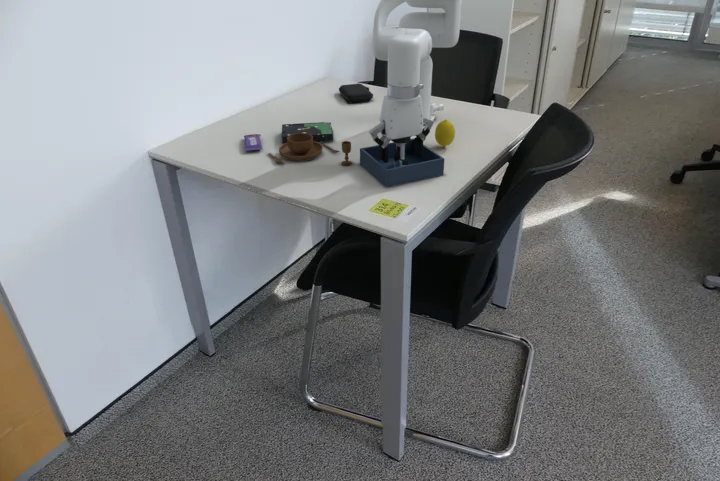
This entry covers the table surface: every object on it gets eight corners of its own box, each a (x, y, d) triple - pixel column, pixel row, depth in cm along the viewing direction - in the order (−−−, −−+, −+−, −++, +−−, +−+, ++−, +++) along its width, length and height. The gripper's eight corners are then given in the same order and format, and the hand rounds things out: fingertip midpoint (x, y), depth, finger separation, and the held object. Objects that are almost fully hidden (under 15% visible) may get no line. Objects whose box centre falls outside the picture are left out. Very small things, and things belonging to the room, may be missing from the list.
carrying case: (377, 101, 187) (365, 89, 199) (377, 93, 186) (365, 81, 198) (347, 104, 185) (337, 92, 197) (347, 95, 183) (337, 84, 195)
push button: (415, 172, 137) (417, 134, 132) (395, 175, 136) (396, 137, 131) (405, 162, 143) (407, 125, 137) (386, 164, 141) (387, 128, 136)
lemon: (442, 141, 155) (444, 114, 151) (457, 147, 152) (460, 119, 148) (430, 147, 152) (431, 119, 148) (445, 152, 149) (447, 124, 144)
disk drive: (282, 146, 154) (334, 142, 156) (281, 136, 153) (333, 132, 154) (282, 133, 163) (331, 129, 165) (281, 124, 162) (330, 120, 163)
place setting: (319, 140, 157) (318, 120, 154) (355, 163, 143) (355, 142, 140) (263, 153, 149) (261, 133, 146) (296, 180, 135) (294, 158, 132)
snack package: (262, 145, 149) (244, 147, 149) (263, 152, 150) (245, 154, 150) (260, 131, 159) (243, 132, 158) (261, 137, 160) (243, 138, 159)
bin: (413, 153, 148) (414, 138, 146) (443, 175, 136) (444, 158, 134) (360, 164, 143) (359, 148, 140) (386, 187, 131) (386, 170, 128)
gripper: (426, 82, 135) (423, 147, 144) (363, 91, 129) (364, 158, 138) (442, 90, 129) (438, 157, 138) (377, 99, 123) (376, 169, 132)
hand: (401, 157), depth 138 cm, fingers open, 9 cm apart
